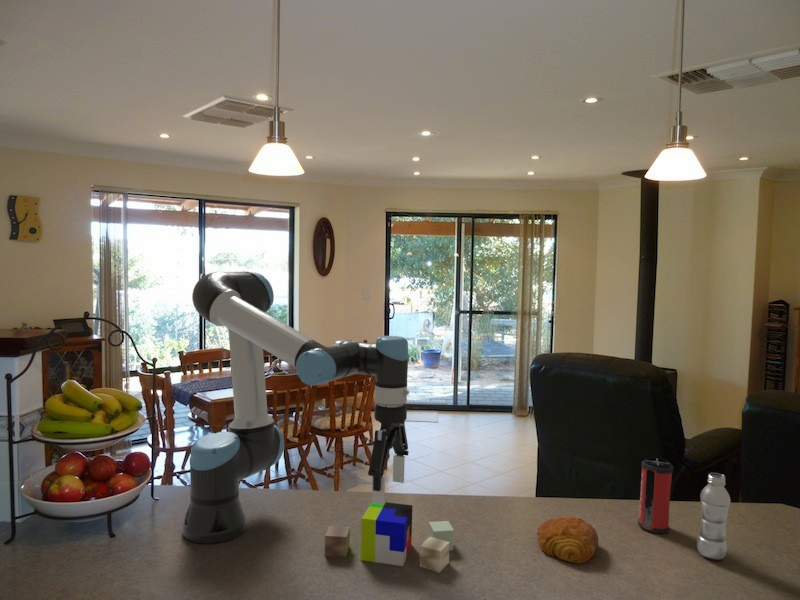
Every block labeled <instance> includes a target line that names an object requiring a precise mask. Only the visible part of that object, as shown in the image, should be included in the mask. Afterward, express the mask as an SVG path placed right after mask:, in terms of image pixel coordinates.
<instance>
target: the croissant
mask: <svg viewBox="0 0 800 600" xmlns="http://www.w3.org/2000/svg"><path fill="white" fill-rule="evenodd" d="M536 534H537V540H538V546H539V548H540V549H541V550H542V551H543V552H544V554H546V555H549V556H550V557H551V556H552V558H555V556H556V557H557V559H559V560H562V559H563V561H565V562H566V561H567V562H569V563H570V562H571V563H573V564H584V563H586V562H588V561H589V560H590V559H591V558H592V557H593V556H594V555H595V552H596V549H597V546H598V545H599V536H598V533H597V531H596V529H595V527H593V526H592V525H591V524H590V523H589V522H587V521H585V520H584V519H583V518H579V517H576V516H575V517H574V516H565V517H562V516H561V517H556V518H551V519H549V520H546V521H544V522H543V523H541V524H540V525H539V526H538V528H537V533H536Z"/></svg>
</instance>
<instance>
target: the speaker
mask: <svg viewBox="0 0 800 600" xmlns="http://www.w3.org/2000/svg"><path fill="white" fill-rule="evenodd" d="M674 469H675V468H674V466H673V465H672V463H671V462H670V461H668V460H667V459H663V458H657V457H647V458H645V459H644V460H642V461H641V479H640V496H639V508H638V509H639V513H638V519H637V525H638V526H639V527H640V528H641V529H642V530H644V531H647V532H650V533H652V534H665V533H668V532H669V531H670V526H669V524H670V523H669V522H670V502H671V500H670V499H671V490H672V489H671V488H672V486H671V485H672V479H673V472H674V471H673V470H674Z"/></svg>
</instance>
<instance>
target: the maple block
mask: <svg viewBox="0 0 800 600" xmlns="http://www.w3.org/2000/svg"><path fill="white" fill-rule="evenodd" d="M449 545H450V542H447V541H444V540H440V539H437V538H433V537H429V538H428V537H427V539H426V540H424V541H423V542H422V544H420V545H419V567H420V568H422V569H423V568H424V569H426V570H429V571H433V572H436V573H439V574H440V573H441V572H442V571H443V569H445V568H446V567H447V566H448V565H449V563H450V561H449V560H450V550H449Z"/></svg>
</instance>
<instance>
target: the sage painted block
mask: <svg viewBox="0 0 800 600" xmlns="http://www.w3.org/2000/svg"><path fill="white" fill-rule="evenodd" d="M427 533H428V536H427V539H428V538H429V537H433V538H437V539H440V540H444V541H447V542H450V545H449V551H453V550H454V537H455V529H454V528H453V526H452V525H451V523H450V521H449V520H442V521H429V522H428V531H427Z"/></svg>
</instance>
